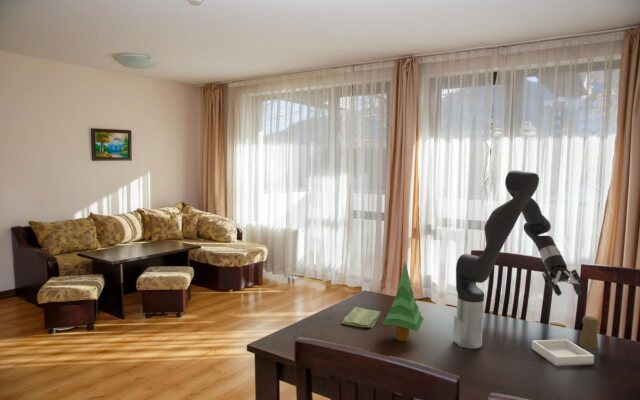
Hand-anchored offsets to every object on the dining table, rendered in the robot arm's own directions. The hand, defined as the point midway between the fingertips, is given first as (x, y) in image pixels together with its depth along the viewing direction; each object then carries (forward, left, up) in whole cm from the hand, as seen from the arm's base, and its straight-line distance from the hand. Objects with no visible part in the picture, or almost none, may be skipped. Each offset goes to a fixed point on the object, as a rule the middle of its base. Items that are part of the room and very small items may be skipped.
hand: (569, 294), depth 174 cm
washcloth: (-78, +21, -17) cm, 83 cm away
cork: (0, -12, -16) cm, 20 cm away
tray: (-16, -19, -16) cm, 29 cm away
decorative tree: (-67, +1, -16) cm, 69 cm away
